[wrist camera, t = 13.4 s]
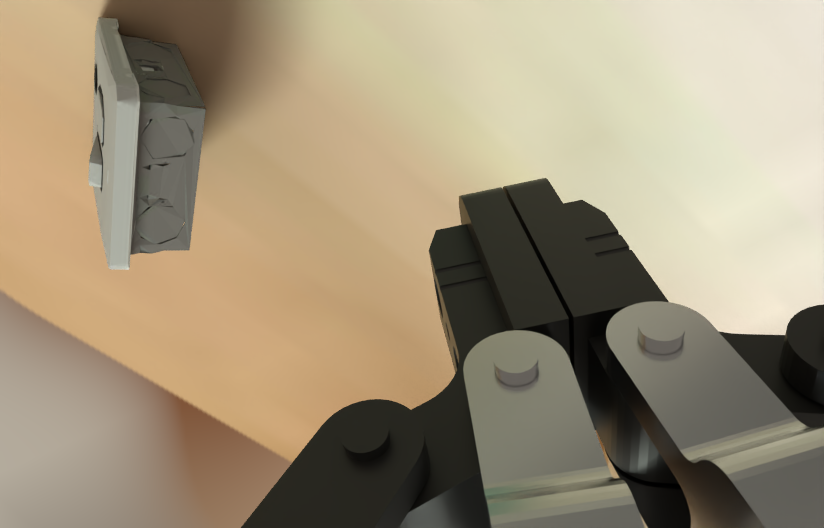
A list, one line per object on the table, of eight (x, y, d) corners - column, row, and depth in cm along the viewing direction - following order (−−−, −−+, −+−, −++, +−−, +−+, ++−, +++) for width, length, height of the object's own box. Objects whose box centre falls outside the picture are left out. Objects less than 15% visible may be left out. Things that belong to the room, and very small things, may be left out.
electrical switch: (97, 9, 34) (69, 80, 27) (206, 30, 36) (207, 102, 29) (93, 175, 39) (68, 273, 32) (189, 186, 41) (186, 281, 34)
